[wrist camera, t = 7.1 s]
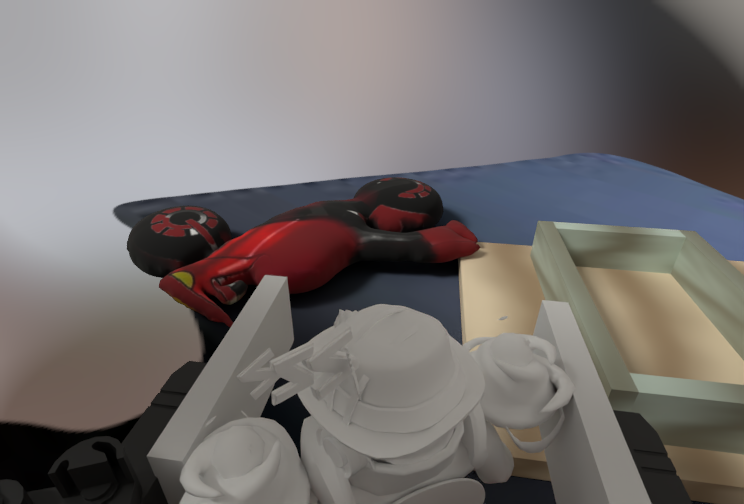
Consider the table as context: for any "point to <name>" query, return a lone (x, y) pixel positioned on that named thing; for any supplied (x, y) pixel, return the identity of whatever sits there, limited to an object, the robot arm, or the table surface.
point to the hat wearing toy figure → (383, 416)
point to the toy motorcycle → (294, 243)
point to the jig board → (632, 335)
